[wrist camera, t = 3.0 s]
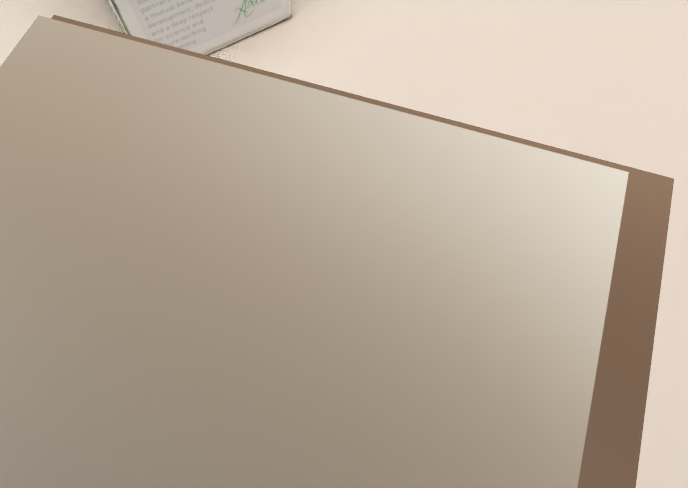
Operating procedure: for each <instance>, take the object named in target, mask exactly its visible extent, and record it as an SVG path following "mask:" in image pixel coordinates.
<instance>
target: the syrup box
mask: <svg viewBox="0 0 688 488" xmlns="http://www.w3.org/2000/svg"><path fill="white" fill-rule="evenodd" d="M107 1H108V3H109V4H110V6H111V8H112V10H113V11H114V13H115V15H116V17H117V18H118V20H119V22H120V24H121V26H122V27H123V29H124V31H125V33H126V34H128V35H132V36H135V37H139V38H143V39H147V40H151V41H154V42H158V43H162V44H166V45H169V46H173V47H177V48H181V49H185V50H188V51H192V52H196V53H200V54H203V55H208V54H210V53H212V52H214V51H216V50H219V49H221V48H224V47H226V46H228V45H230V44H232V43H234V42H237V41H239V40H241V39H243V38H245V37H248V36H250V35H252V34H254V33H256V32H258V31H261V30H263V29H265V28H267V27H270V26H272V25H274V24H276V23H278V22H280V21H282V20H284V19H286V18H289V17H291V15H292V6H291V0H107Z"/></svg>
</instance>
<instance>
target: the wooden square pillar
mask: <svg viewBox="0 0 688 488" xmlns="http://www.w3.org/2000/svg"><path fill="white" fill-rule="evenodd" d="M673 183H674V179H673V178H669V177H665V176H661V175H658V174H654V173H650V172H646V171H642V170H639V169H635V168H631V167H627V166H623V165H620V164H616V163H612V162H608V161H605V160H601V159H597V158H593V157H589V156H586V155H582V154H578V153H574V152H570V151H567V150H563V149H559V148H555V147H552V146H548V145H544V144H540V143H536V142H533V141H529V140H525V139H521V138H518V137H514V136H510V135H506V134H502V133H499V132H495V131H491V130H487V129H483V128H480V127H476V126H472V125H468V124H465V123H461V122H457V121H453V120H449V119H446V118H442V117H438V116H434V115H430V114H427V113H423V112H419V111H415V110H412V109H408V108H404V107H400V106H396V105H393V104H389V103H385V102H381V101H378V100H374V99H370V98H366V97H362V96H359V95H355V94H351V93H347V92H343V91H340V90H336V89H332V88H328V87H325V86H321V85H317V84H313V83H309V82H306V81H302V80H298V79H294V78H291V77H287V76H283V75H279V74H275V73H272V72H268V71H264V70H260V69H256V68H253V67H249V66H245V65H241V64H238V63H234V62H230V61H226V60H222V59H219V58H215V57H211V56H207V55H203V54H200V53H196V52H192V51H188V50H185V49H181V48H177V47H173V46H169V45H166V44H162V43H158V42H154V41H151V40H147V39H143V38H139V37H135V36H132V35H128V34H124V33H120V32H116V31H113V30H109V29H105V28H101V27H98V26H94V25H90V24H86V23H82V22H79V21H75V20H71V19H67V18H63V17H60V16H56V15H54V16H53V17H52V18H51V19H50V18H47V17H43V16H38V17H37V19H36V20H35V21H34V23H33V24H32V25H31V27H30V28H29V29H28V31H27V32H26V33H25V35H24V36H23V37H22V39H21V40H20V41H19V43H18V44H17V45H16V47H15V48H14V49H13V51H12V52H11V53H10V55H9V56H8V57H7V59H6V60H5V61H4V63H3V64H2V65H1V67H0V488H635V486H636V478H637V470H638V462H639V454H640V446H641V438H642V430H643V422H644V414H645V406H646V399H647V391H648V383H649V375H650V367H651V359H652V351H653V343H654V335H655V327H656V319H657V311H658V303H659V295H660V287H661V279H662V271H663V263H664V255H665V247H666V239H667V231H668V223H669V215H670V207H671V199H672V191H673Z"/></svg>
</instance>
